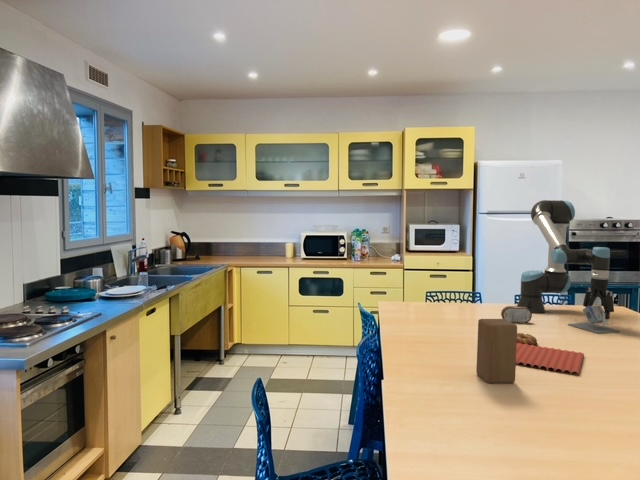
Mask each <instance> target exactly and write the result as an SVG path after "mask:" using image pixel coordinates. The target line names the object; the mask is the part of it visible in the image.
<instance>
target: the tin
mask: <svg viewBox="0 0 640 480" xmlns="http://www.w3.org/2000/svg"><path fill="white" fill-rule="evenodd" d="M500 315H501V319H505V320H507V321H509V322H511V323H513V324H527V323H529V322H530V321H531V320H532V318H533V313H531V311H530V310H529V309H528V308H526V307H517V305H516V306H513V305H512V306H511V305H508V306H505V307H503V309H502V310H501V312H500Z"/></svg>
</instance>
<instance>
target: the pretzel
mask: <svg viewBox="0 0 640 480" xmlns="http://www.w3.org/2000/svg"><path fill="white" fill-rule="evenodd" d="M537 341H538V340H537V338H536V337H535V336H533V335H532V334H530V333H529V334H528V333H526V334H524V333H521V332H517V343H521V344H527V345H534V346H537V344H538V342H537Z"/></svg>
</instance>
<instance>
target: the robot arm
mask: <svg viewBox="0 0 640 480" xmlns="http://www.w3.org/2000/svg"><path fill="white" fill-rule="evenodd" d="M575 215H576V210H575V207H574V204H573V203H572V202H571V201H569V200H551V199H550V200H548V199H547V200H545V199H544V200H539V201H538V202H536V203H535V204H534V205H533V206H532V207H531V211H530V217H531V220H532V222H533V224H534V225H536V226H537V227H538V229H539V230H540V232H541V234H542V235H543V237H544V239H545V241H546V242H547V244H548V253H547V267H545V268H544V271H543V270H526V271H523V272H522V273H521V276H520V297H519V300H518V302H517V304H516V307H526V308H528V309H529V310H530V311H531V313H532V314H543V313H545V311H546V309H545V305H544V301H543V294H557V295H558V294H564V293H566V292H567V291H568V290H569V289H570V287H571V282H572V281H571V280H572V279H571V276H570V275H569V274H568V273H567V270H566V269H565V265H591V272H590V273H591V274H590V275H591V276H590V277H591V278H590V285H591V287H585V294H584V295H585V296H584V299H583V304H582V306H583V307H585V308H586V307H587V306H594V303H595V301H596V299H597V298H598V299H600V301H601V304H602V305H601V306H602V309H603V310H604V312H603V323H601V324H602V325H601V326H604V327H608V326H609V320H610V319H611V318H610V315H611V313H614V312H615V309H614V308H615V306H614V298H613V296H614V292H613V291H609V290H608V287H609V277H610V274H609V273H610V261H611V253H610V252H611V249H610V248H609V247H605V246H602V247H601V246H593V247H592V249H588V248H582V249H578V248H577V249H571V248H570V247H569V246H568V245H567V243H566V241H567V240H566V238H567V227H568V226H569V225H570V222H571V221H573V220H575V219H574V218H575ZM586 322H589V321H588V319H587V318H586Z"/></svg>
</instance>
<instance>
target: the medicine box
mask: <svg viewBox="0 0 640 480" xmlns="http://www.w3.org/2000/svg"><path fill="white" fill-rule="evenodd" d="M582 312H583V314H584V315H585V318H586V320H587V319H588V321H589V323H590V324H603V312H605V311H604V308H603V306H602V305H601V304H599V305H592V306H587V307H585V308H582ZM588 321H587V322H588Z"/></svg>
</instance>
